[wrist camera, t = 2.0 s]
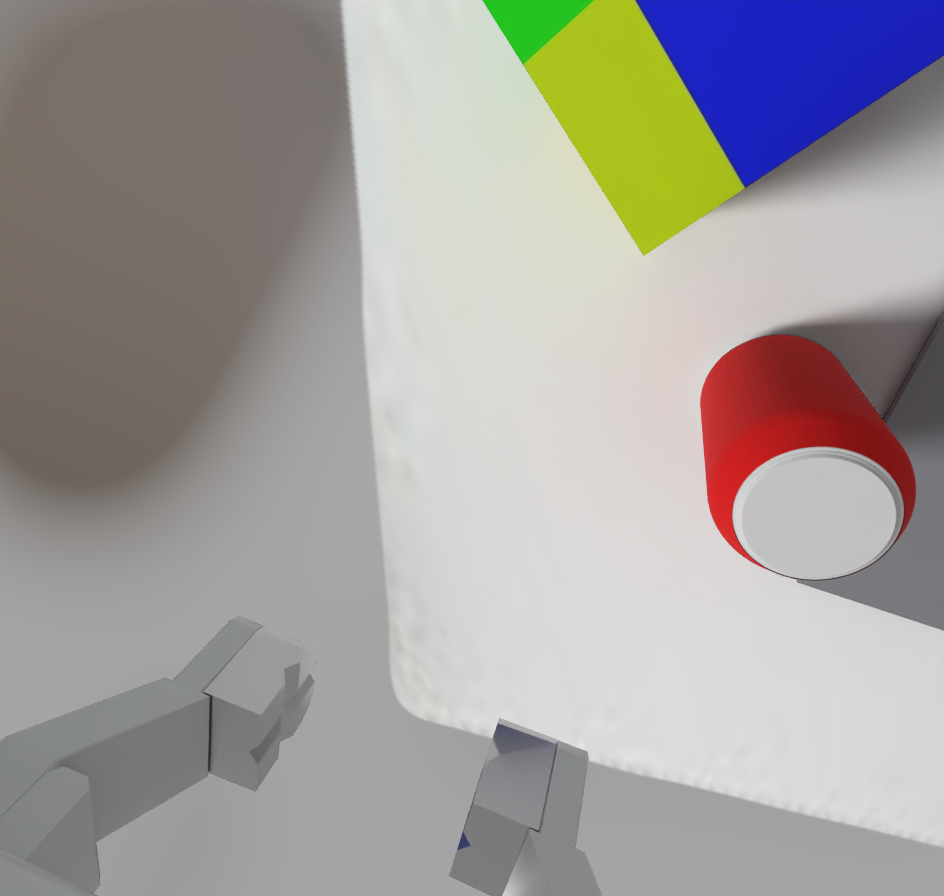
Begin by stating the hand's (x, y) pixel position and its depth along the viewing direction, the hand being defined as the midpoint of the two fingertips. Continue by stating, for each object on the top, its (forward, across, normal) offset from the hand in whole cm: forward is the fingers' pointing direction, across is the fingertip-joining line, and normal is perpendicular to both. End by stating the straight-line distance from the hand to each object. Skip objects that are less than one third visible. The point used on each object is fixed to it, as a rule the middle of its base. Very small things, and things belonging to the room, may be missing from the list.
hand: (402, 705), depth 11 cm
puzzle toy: (+24, -1, -13) cm, 28 cm away
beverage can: (+24, -9, 0) cm, 26 cm away
